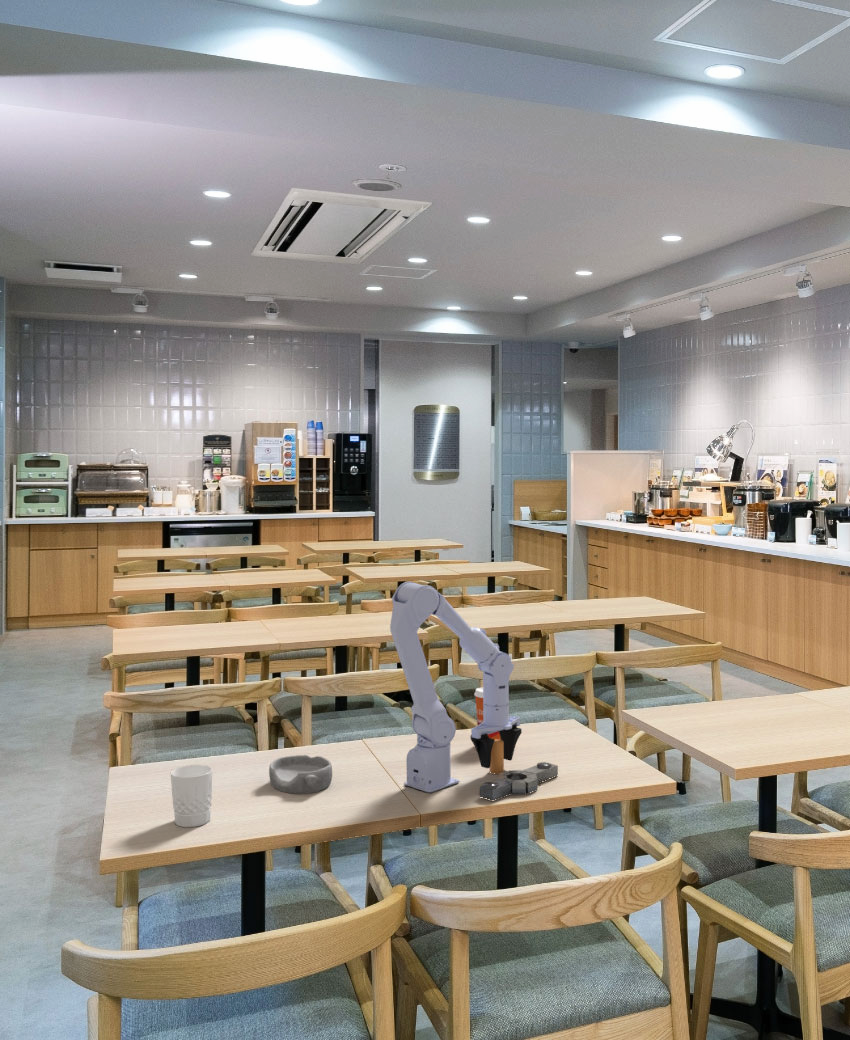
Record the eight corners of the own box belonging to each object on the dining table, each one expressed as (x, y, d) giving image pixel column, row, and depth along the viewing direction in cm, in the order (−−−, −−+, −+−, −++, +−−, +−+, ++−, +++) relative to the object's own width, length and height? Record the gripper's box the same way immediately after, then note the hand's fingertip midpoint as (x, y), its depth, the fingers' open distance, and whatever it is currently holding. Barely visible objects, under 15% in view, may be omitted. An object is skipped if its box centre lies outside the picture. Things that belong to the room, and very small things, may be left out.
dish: (321, 798, 191) (321, 774, 190) (259, 794, 193) (258, 771, 193) (341, 776, 205) (341, 754, 205) (283, 772, 208) (282, 751, 207)
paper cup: (468, 744, 227) (467, 689, 226) (489, 738, 232) (489, 684, 231) (491, 751, 221) (490, 694, 220) (512, 745, 226) (511, 689, 226)
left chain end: (501, 804, 185) (501, 790, 185) (470, 794, 191) (470, 781, 190) (544, 787, 195) (544, 774, 195) (514, 778, 201) (514, 766, 200)
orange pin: (497, 775, 203) (497, 744, 203) (486, 772, 205) (486, 741, 205) (506, 772, 205) (506, 741, 205) (496, 769, 208) (495, 738, 207)
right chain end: (519, 797, 189) (519, 783, 189) (489, 788, 195) (489, 775, 195) (566, 778, 200) (566, 765, 200) (536, 770, 206) (536, 758, 206)
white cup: (218, 813, 182) (216, 764, 181) (207, 828, 174) (205, 777, 173) (179, 813, 182) (177, 764, 182) (166, 828, 174) (165, 777, 174)
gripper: (488, 712, 197) (488, 774, 197) (530, 700, 207) (530, 759, 207) (464, 707, 202) (464, 767, 202) (506, 695, 212) (507, 753, 212)
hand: (496, 763), depth 205 cm, fingers open, 7 cm apart
